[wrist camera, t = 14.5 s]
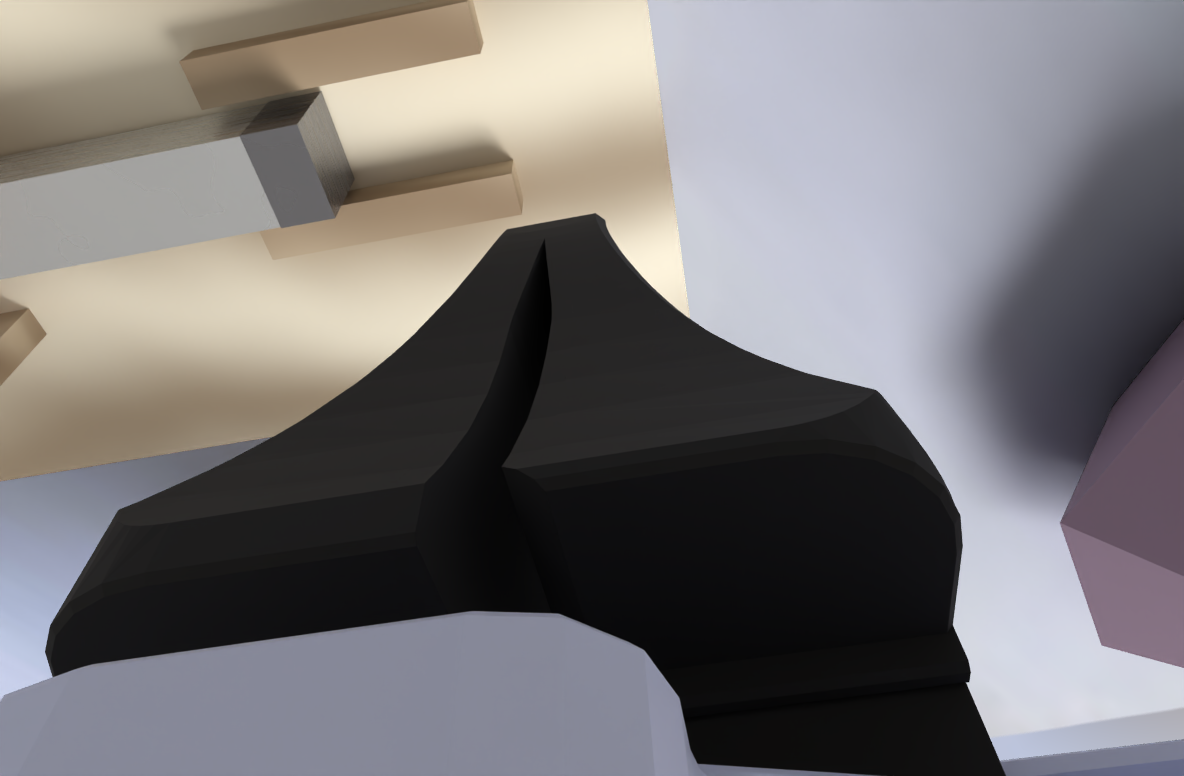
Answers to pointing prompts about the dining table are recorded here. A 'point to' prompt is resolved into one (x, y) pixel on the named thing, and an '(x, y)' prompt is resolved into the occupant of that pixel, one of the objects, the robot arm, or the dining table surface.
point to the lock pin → (171, 185)
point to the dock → (320, 249)
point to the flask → (1136, 515)
